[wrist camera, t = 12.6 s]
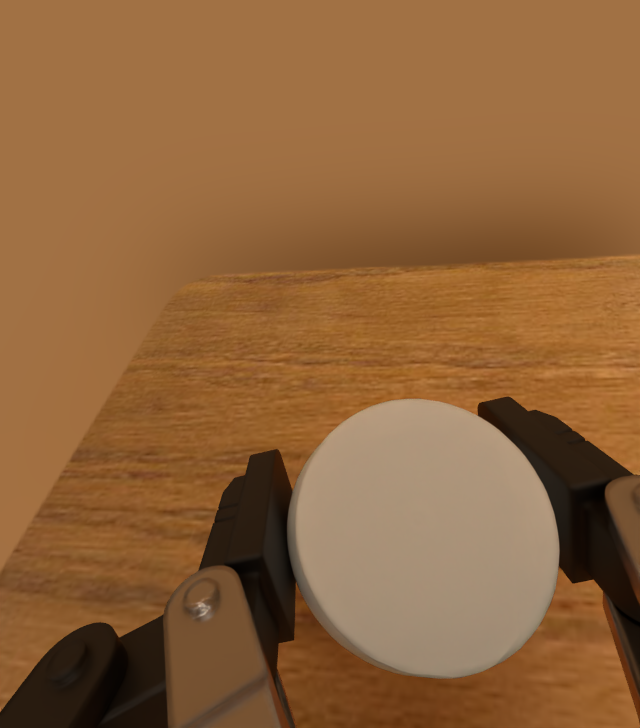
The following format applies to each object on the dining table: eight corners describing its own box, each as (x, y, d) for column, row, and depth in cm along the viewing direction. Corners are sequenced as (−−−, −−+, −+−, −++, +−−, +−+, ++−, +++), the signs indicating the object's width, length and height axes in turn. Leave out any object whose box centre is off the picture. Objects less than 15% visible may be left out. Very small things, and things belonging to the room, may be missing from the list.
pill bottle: (497, 537, 14) (705, 537, 5) (396, 651, 13) (437, 895, 4) (390, 433, 16) (407, 308, 7) (296, 524, 15) (183, 507, 6)
